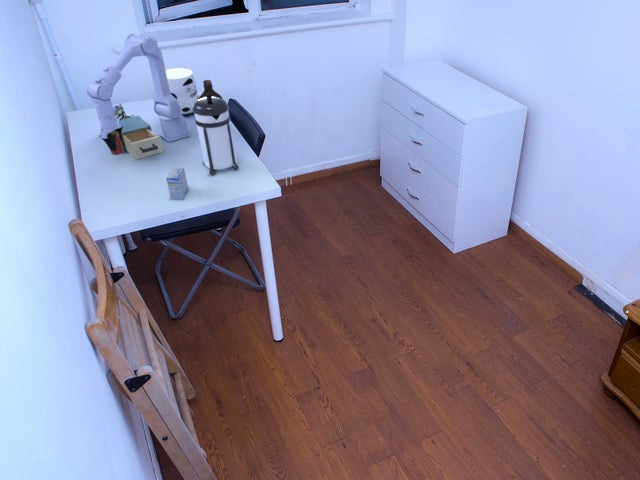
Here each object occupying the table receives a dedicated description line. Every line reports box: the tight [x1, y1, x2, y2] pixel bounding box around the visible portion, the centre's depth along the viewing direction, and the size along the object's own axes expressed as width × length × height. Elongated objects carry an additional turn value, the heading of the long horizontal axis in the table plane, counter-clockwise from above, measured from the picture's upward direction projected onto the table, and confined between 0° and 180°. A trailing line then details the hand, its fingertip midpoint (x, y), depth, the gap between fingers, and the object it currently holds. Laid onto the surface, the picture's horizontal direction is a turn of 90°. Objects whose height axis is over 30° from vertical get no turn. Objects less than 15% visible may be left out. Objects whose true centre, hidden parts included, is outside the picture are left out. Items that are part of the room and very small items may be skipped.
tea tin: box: [109, 131, 124, 156], centre depth 212 cm, size 5×5×8 cm
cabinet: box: [119, 115, 153, 154], centre depth 229 cm, size 13×13×8 cm
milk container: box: [165, 67, 200, 116], centre depth 255 cm, size 17×17×18 cm
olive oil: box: [198, 79, 224, 100], centre depth 231 cm, size 11×11×25 cm
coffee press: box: [193, 93, 240, 176], centre depth 209 cm, size 17×16×30 cm
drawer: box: [121, 128, 164, 161], centre depth 221 cm, size 16×12×7 cm
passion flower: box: [113, 103, 135, 120], centre depth 242 cm, size 11×11×12 cm
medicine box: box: [166, 167, 189, 200], centre depth 197 cm, size 8×4×9 cm, turn 5°
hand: (116, 147), depth 213 cm, fingers closed on tea tin, 4 cm apart
